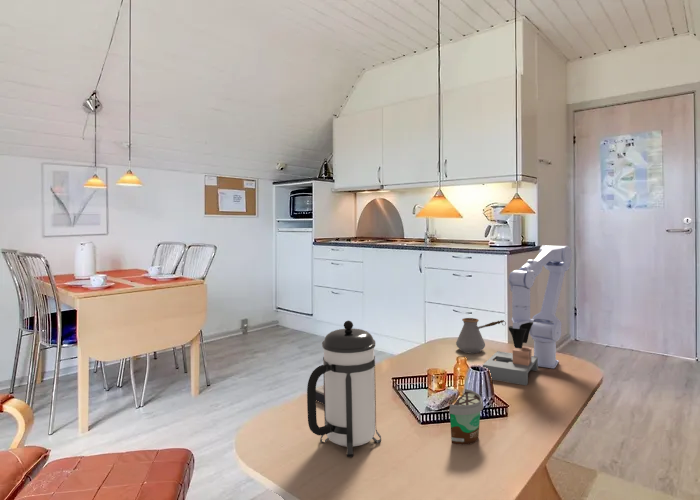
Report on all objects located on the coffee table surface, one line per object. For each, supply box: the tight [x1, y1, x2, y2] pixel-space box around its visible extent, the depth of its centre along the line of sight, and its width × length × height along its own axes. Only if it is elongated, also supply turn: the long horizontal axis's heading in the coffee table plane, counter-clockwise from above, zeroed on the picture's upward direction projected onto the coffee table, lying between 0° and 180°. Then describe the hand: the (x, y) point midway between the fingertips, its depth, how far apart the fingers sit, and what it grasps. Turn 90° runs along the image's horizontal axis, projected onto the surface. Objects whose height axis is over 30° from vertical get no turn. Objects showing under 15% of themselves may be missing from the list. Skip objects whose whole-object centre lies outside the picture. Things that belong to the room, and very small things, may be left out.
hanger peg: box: [512, 346, 533, 366], centre depth 153 cm, size 5×5×8 cm
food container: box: [448, 388, 484, 446], centre depth 110 cm, size 12×6×10 cm, turn 148°
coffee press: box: [306, 320, 382, 458], centre depth 108 cm, size 17×16×30 cm
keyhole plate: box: [482, 350, 539, 386], centre depth 155 cm, size 18×14×4 cm
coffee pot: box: [455, 317, 507, 354], centre depth 179 cm, size 21×12×15 cm, turn 39°
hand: (520, 345), depth 153 cm, fingers open, 7 cm apart
